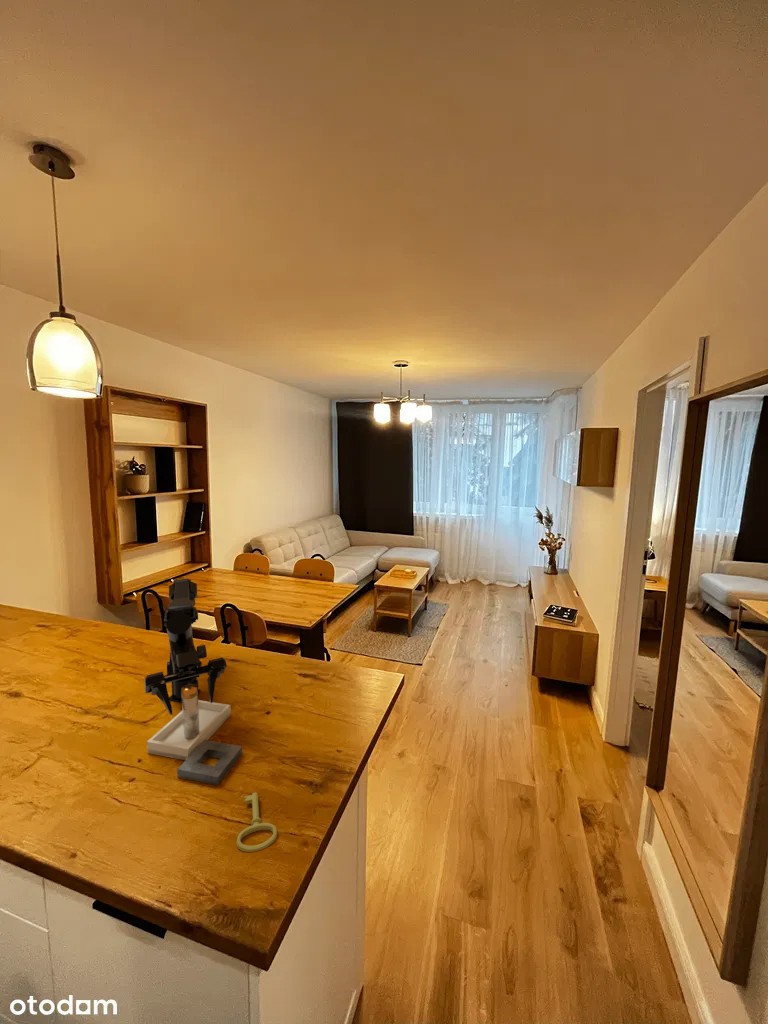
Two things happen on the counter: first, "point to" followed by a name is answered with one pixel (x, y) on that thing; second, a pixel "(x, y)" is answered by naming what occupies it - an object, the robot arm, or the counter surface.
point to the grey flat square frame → (207, 773)
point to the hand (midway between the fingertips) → (191, 708)
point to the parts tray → (172, 733)
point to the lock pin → (190, 711)
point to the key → (256, 827)
